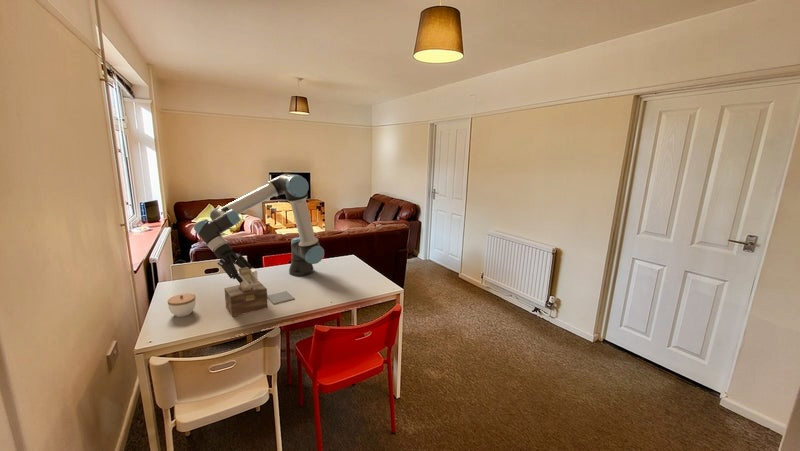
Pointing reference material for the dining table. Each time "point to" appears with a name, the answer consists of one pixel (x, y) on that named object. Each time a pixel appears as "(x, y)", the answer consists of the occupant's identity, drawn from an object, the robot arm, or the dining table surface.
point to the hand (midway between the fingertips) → (251, 283)
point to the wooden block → (246, 274)
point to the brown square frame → (245, 299)
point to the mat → (280, 297)
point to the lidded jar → (182, 304)
